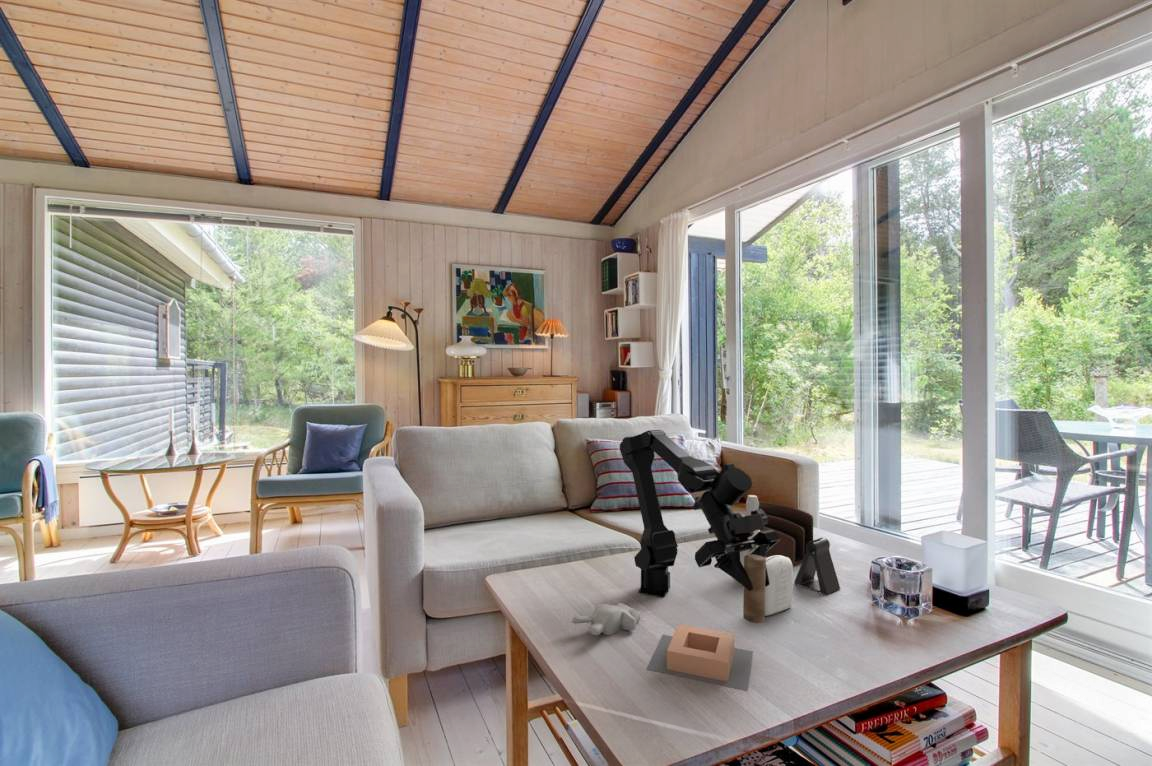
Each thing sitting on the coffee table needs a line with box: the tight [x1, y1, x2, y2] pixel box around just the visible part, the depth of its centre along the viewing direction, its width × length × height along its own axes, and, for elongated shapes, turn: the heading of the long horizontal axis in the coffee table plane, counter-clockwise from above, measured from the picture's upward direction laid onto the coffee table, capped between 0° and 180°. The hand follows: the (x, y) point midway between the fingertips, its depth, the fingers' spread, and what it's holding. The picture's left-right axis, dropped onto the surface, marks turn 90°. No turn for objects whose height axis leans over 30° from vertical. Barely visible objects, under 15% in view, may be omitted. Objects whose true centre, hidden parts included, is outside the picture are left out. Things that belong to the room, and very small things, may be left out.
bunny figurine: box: [571, 602, 642, 636], centre depth 118 cm, size 10×5×15 cm
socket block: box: [667, 624, 735, 682], centre depth 106 cm, size 11×11×4 cm
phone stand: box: [793, 537, 841, 596], centre depth 142 cm, size 9×6×12 cm, turn 35°
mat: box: [646, 634, 754, 692], centre depth 106 cm, size 18×14×1 cm
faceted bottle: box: [740, 494, 760, 567], centre depth 146 cm, size 6×6×22 cm
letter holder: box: [745, 500, 814, 567], centre depth 166 cm, size 10×20×14 cm, turn 36°
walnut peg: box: [742, 554, 767, 624], centre depth 109 cm, size 4×4×12 cm
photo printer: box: [765, 555, 794, 617], centre depth 128 cm, size 10×4×12 cm, turn 123°
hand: (759, 587), depth 108 cm, fingers closed on walnut peg, 4 cm apart
